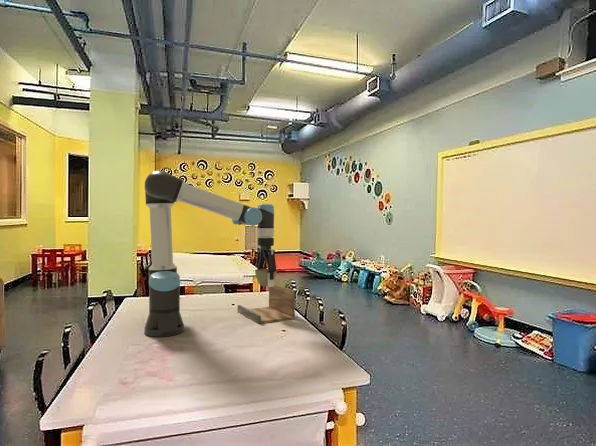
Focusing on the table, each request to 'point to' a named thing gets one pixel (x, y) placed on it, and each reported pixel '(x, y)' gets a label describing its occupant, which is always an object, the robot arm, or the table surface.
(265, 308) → the brown piece
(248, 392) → the table surface
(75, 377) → the table surface
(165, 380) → the table surface
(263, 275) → the flower pot
